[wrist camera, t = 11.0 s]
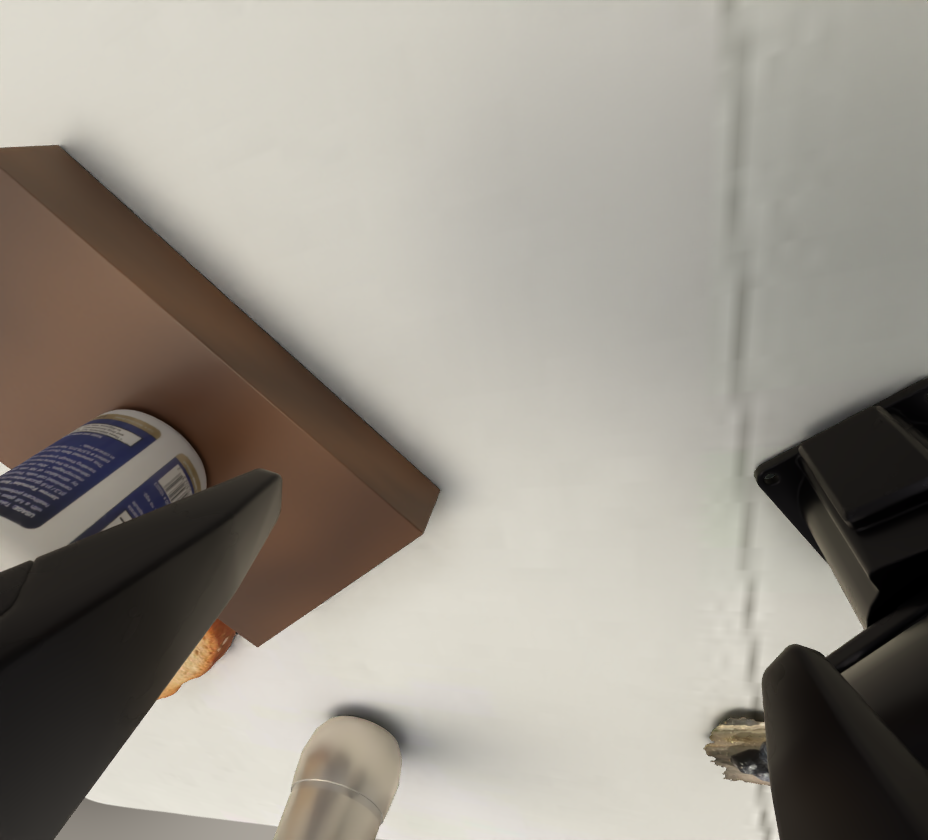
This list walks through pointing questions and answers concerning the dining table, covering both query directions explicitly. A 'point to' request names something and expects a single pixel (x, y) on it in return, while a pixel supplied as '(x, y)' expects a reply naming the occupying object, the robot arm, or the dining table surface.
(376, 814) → the silver metal bottle
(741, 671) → the dining table surface
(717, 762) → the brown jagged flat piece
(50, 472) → the pill bottle
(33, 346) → the walnut board
